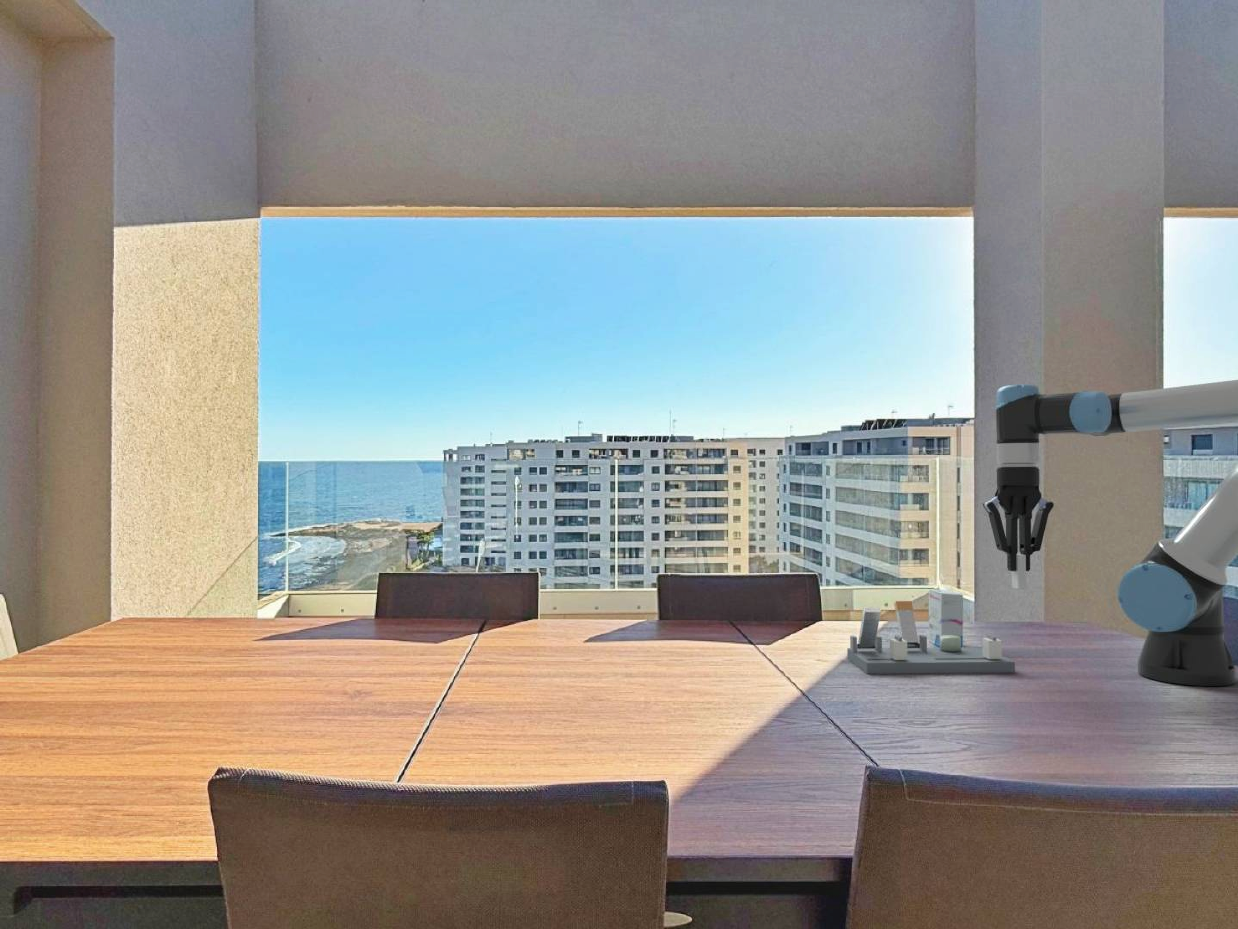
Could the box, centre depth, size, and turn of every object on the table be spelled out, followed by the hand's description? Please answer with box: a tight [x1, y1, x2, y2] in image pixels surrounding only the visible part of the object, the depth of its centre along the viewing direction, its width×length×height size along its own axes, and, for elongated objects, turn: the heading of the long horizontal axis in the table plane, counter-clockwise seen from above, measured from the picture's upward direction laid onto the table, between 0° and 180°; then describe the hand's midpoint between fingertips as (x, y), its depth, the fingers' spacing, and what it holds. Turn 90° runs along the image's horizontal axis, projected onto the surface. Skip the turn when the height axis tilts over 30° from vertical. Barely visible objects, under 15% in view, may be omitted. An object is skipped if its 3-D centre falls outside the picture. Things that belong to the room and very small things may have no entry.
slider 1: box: [889, 635, 907, 660], centre depth 168 cm, size 2×3×4 cm
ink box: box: [928, 588, 964, 648], centre depth 192 cm, size 9×5×12 cm, turn 179°
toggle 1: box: [857, 607, 882, 649], centre depth 174 cm, size 3×1×10 cm, turn 90°
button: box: [939, 635, 961, 651], centre depth 176 cm, size 4×4×2 cm
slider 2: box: [981, 634, 1003, 659], centre depth 168 cm, size 2×3×4 cm
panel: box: [846, 634, 1016, 675], centre depth 172 cm, size 28×14×5 cm, turn 90°
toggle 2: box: [893, 600, 920, 648], centre depth 178 cm, size 3×1×10 cm, turn 90°
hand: (1018, 588), depth 168 cm, fingers closed
